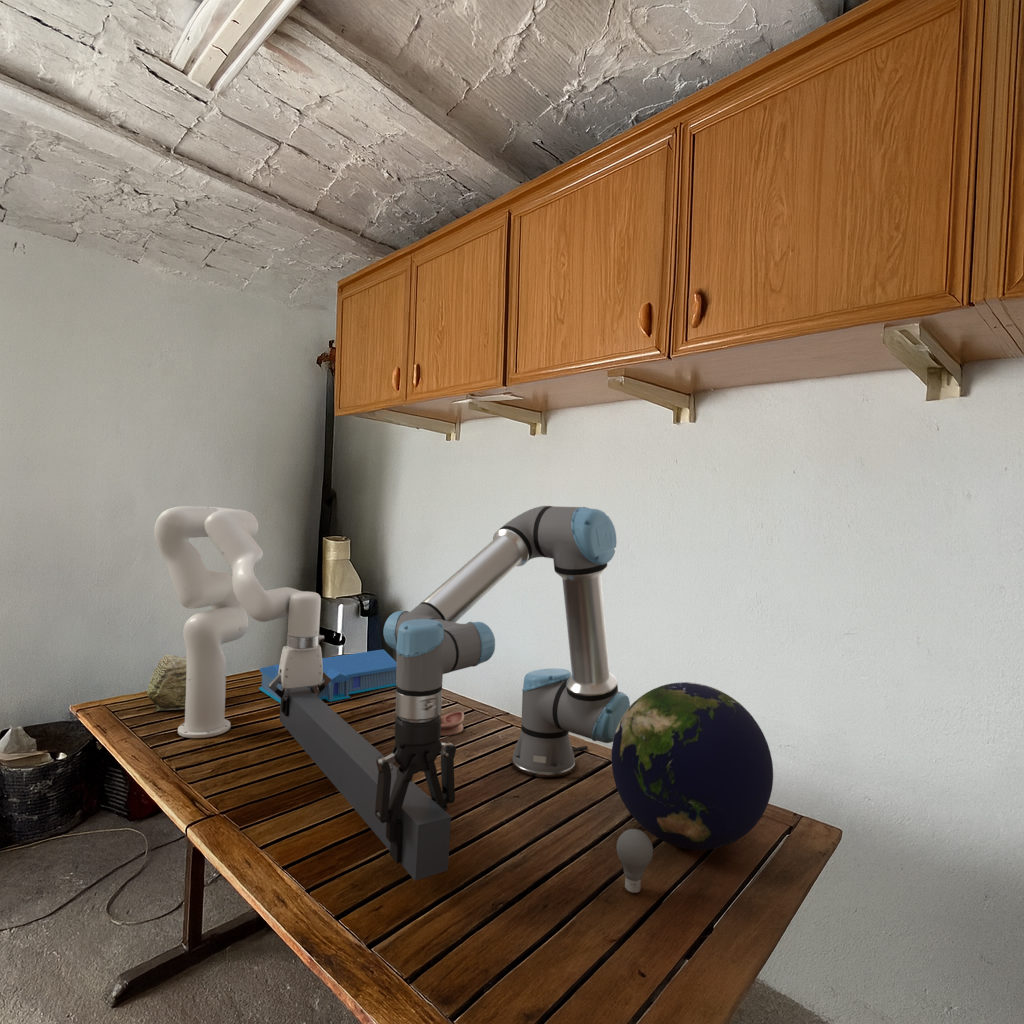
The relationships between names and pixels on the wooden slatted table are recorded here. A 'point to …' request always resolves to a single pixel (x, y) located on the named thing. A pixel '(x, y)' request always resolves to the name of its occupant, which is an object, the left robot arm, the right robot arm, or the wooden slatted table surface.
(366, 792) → the beam
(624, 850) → the light bulb
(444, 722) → the anatomical model
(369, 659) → the model building
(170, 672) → the fossil
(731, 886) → the wooden slatted table surface
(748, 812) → the globe
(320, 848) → the wooden slatted table surface
